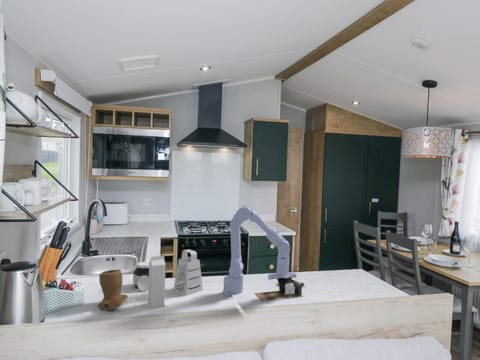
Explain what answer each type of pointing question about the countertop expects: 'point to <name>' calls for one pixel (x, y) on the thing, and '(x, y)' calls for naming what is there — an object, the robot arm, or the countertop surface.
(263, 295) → the rail board
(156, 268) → the milk
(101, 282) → the brown boot
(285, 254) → the robot arm
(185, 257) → the grater
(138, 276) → the spread jar
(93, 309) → the countertop surface
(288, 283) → the mechanical counter
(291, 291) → the brushed steel box
